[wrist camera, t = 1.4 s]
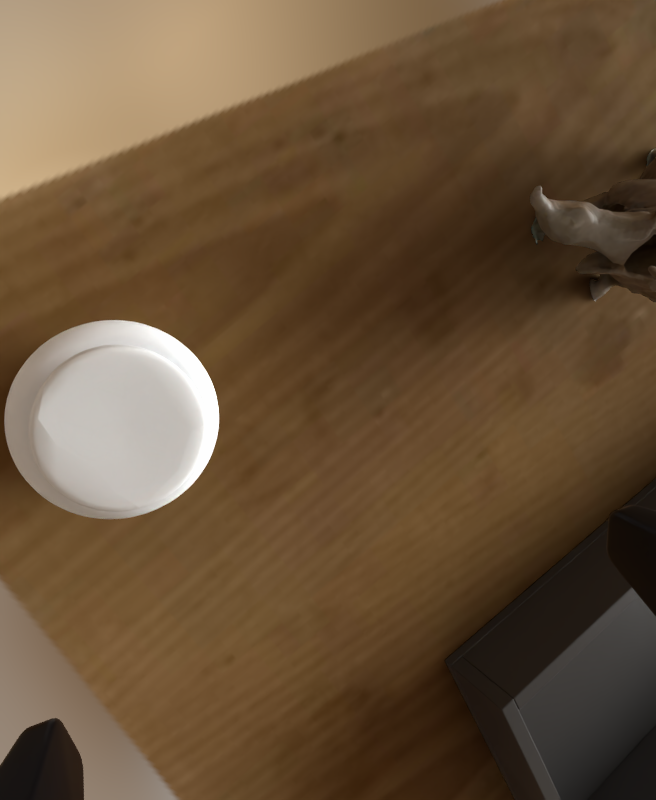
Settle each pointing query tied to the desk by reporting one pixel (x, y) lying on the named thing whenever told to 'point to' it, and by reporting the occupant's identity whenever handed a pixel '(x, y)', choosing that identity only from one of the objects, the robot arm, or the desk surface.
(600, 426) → the desk surface
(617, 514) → the robot arm
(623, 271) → the rhinoceros figurine
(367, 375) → the desk surface
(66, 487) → the supplement bottle
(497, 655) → the black rectangular tray
